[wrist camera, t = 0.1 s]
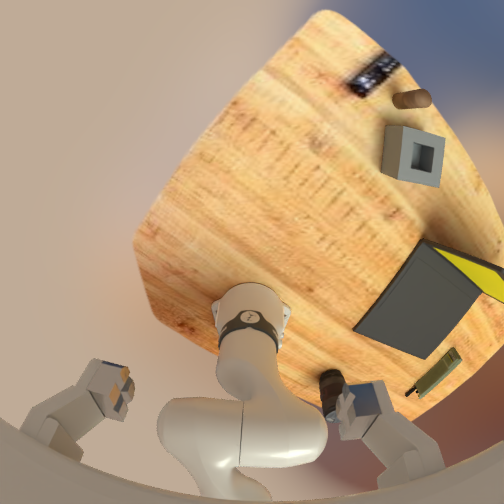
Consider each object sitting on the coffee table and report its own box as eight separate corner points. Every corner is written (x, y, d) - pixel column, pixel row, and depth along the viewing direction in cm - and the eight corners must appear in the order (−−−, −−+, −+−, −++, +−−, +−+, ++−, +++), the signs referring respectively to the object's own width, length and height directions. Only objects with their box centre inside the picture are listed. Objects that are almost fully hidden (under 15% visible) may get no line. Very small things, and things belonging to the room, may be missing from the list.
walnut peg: (406, 111, 45) (431, 109, 36) (392, 107, 45) (415, 104, 36) (407, 95, 44) (431, 91, 35) (392, 91, 44) (416, 86, 35)
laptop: (351, 328, 68) (379, 408, 44) (432, 217, 55) (504, 268, 31) (423, 357, 73) (453, 418, 49) (490, 272, 60) (541, 322, 36)
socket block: (419, 179, 51) (438, 187, 44) (380, 172, 51) (397, 179, 44) (424, 135, 47) (445, 138, 39) (385, 125, 47) (403, 125, 40)
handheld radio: (455, 348, 72) (407, 394, 81) (451, 346, 72) (402, 392, 81) (463, 361, 66) (412, 407, 75) (459, 358, 65) (407, 405, 75)
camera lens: (328, 387, 78) (335, 426, 64) (312, 378, 76) (318, 419, 62) (348, 374, 75) (359, 413, 62) (333, 364, 73) (342, 405, 60)
